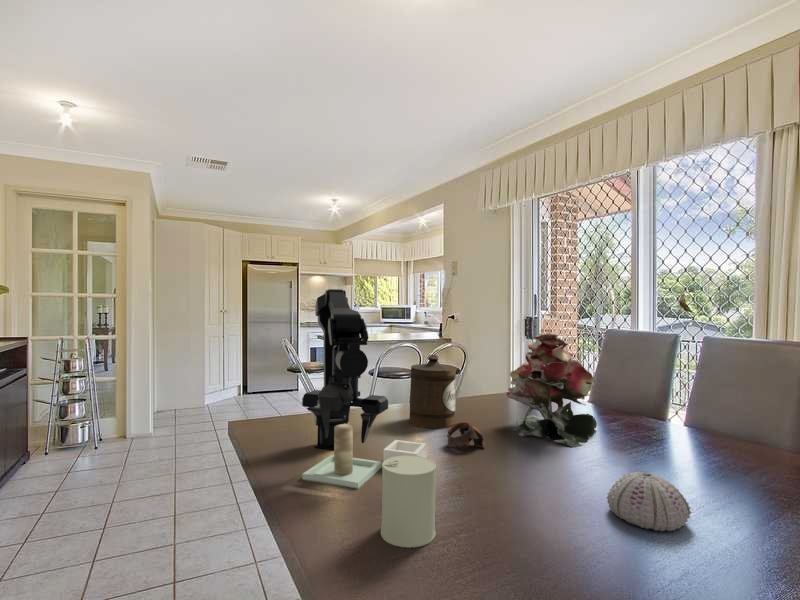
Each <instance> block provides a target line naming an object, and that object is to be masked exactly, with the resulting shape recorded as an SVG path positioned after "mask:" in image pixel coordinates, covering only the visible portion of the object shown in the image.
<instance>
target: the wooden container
mask: <svg viewBox="0 0 800 600" xmlns="http://www.w3.org/2000/svg"><path fill="white" fill-rule="evenodd" d="M427 359H428V360H429V361H428V362H427V363H419V364H413V365H411V367H410V387H409V388H410V391H409V392H410V393H409V423H410V424H412V425H413V426H415V425H416V426H415V427H420V428H424V427H425V429H444V428H450V427H452V426H454V425H455V424H456V375H457V374H456V373H457V369H456V367H455V366H453V365H449V364H443V363H442V364H441V363H439V361H438V360H439V356H438V355H436V354H431V355H428V357H427Z"/></svg>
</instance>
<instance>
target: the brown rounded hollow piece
mask: <svg viewBox="0 0 800 600" xmlns="http://www.w3.org/2000/svg"><path fill="white" fill-rule="evenodd" d="M458 430H459V433H460V435H459V436H452V435H453V434H454V433H456V431H458ZM446 438H447V446H448V448H455V449H457V448H459V447H463V446H468V447H470V446H471V445H470V442H471V441H473V446H474V447H482V449H483V450H485V449H486V443H485V441H484V437H483V434H482V432H481V430H480V429H479V428H478V427H476V426H474V425H472V422H469V421H461V422H457V423H455V424H454V425H452V426H450V427H449V430H448V431H447V437H446Z"/></svg>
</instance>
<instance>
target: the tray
mask: <svg viewBox="0 0 800 600" xmlns="http://www.w3.org/2000/svg"><path fill="white" fill-rule="evenodd" d="M382 463H383V461H378V460H373V459H372V460H371V459H364V458H358V457H353V472H352V473H351V474H349V475H343V476H342V475H336V474H335V473H334V454H330V455H329V456H328V457H327V456H326V457H325V458H324V459H323V460H321V461H319V462H318V463H317V464H314V465H313V466H312V467H311V468H309V469H308V470H306V471H304V472H303V473H302V474H301V475H302V478H301V479H302V481H306V482H307V481H308V482H314V483H320V484H325V485H326V484H327V485H332V486H339V487H344V488H351V489H355V490H359V489H360V488H361V487H363V485H364V484H365V483H366V482H367V481H369V480H370V479H371V478H372V477H373V476H374V475H375V474H376V473H377V472H379V470H380V469H381V470H382Z"/></svg>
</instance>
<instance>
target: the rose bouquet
mask: <svg viewBox="0 0 800 600" xmlns="http://www.w3.org/2000/svg"><path fill="white" fill-rule="evenodd" d="M532 339H533V340H535V341H534V342H530V343H528V344H527V348H528V350H530V351H528V352H526V353H525V360H526V362H523V363H521V364H520V365H519V366H518V367H517V368H516V369H514V370H511V371H510V373H509V375H510V378H511V381H510V385H513V387H508V388H507V390H508V392H506V396H507V398H509V399H512V400H514V401H516V402H519V403H521V404H523V405H525V406H528V407H529V408H528V409H527V411H526V414H525V416H524V418H522V419H521V418H520V419H519V420H517V421H516V424H517V426H516V427H515V428H512V429H511V430H512V431H518V430H519V431H520V432H517V434H518V435H519V437H526V436H533V437H538V438H541V439H544V440H548V441H549V440H550V441H551V437H549V436H547V435H548V434H549V435H551V432H555V431H557V434H558V435H559V436H561V437H562V438H563V439H555V440H553V441H554V442H557V443H560V444H563V445H566V446H569V447H571V448H576V447H577V448H579V447H582V446H583V445H584V444H586V443H588V441H589V439H590V436H591V435H593V434H595V432H596V429H597V425H598V424H597V423H598V422H597V420H596V417H594V416H593V415H592V414H590V413H581V414H574V411H573V410H572V402H573V403H575V404H578V405H583V406H587V404H585V403H584V402H581V401H579V400H581V399H582V400H585V398H586V397H587V396H590V394H589V392H591V391H592V386H594V385H595V384H596V380H595V377H594V376H593V374H592V373H591V372H590V371H588V370H587V369H586V368H585V367H584V366H583V364H582V363H581V362H580V361H578V360H577V359H575V358H573V357H572V356H573V355H574V353H571V352H570V351H566V350H565V349H564V348H566V347H567V346H568V345H569V342H568V341H566V340H563V339H561V338H559V337H558V334H555V333H546V334H541V333H538V334H537V335H536V336H533V337H532ZM564 400H569V402H568V403H566V404H565V405H564ZM552 403H555V404H556V405H557V409H556V410H555V411H553V406H552V405H553V404H552ZM533 410H536V411H538V412H539V413H540V415H541V416H542V417H540V416H537V415H530V414H531V412H532V411H533ZM581 443H582V444H581Z"/></svg>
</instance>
